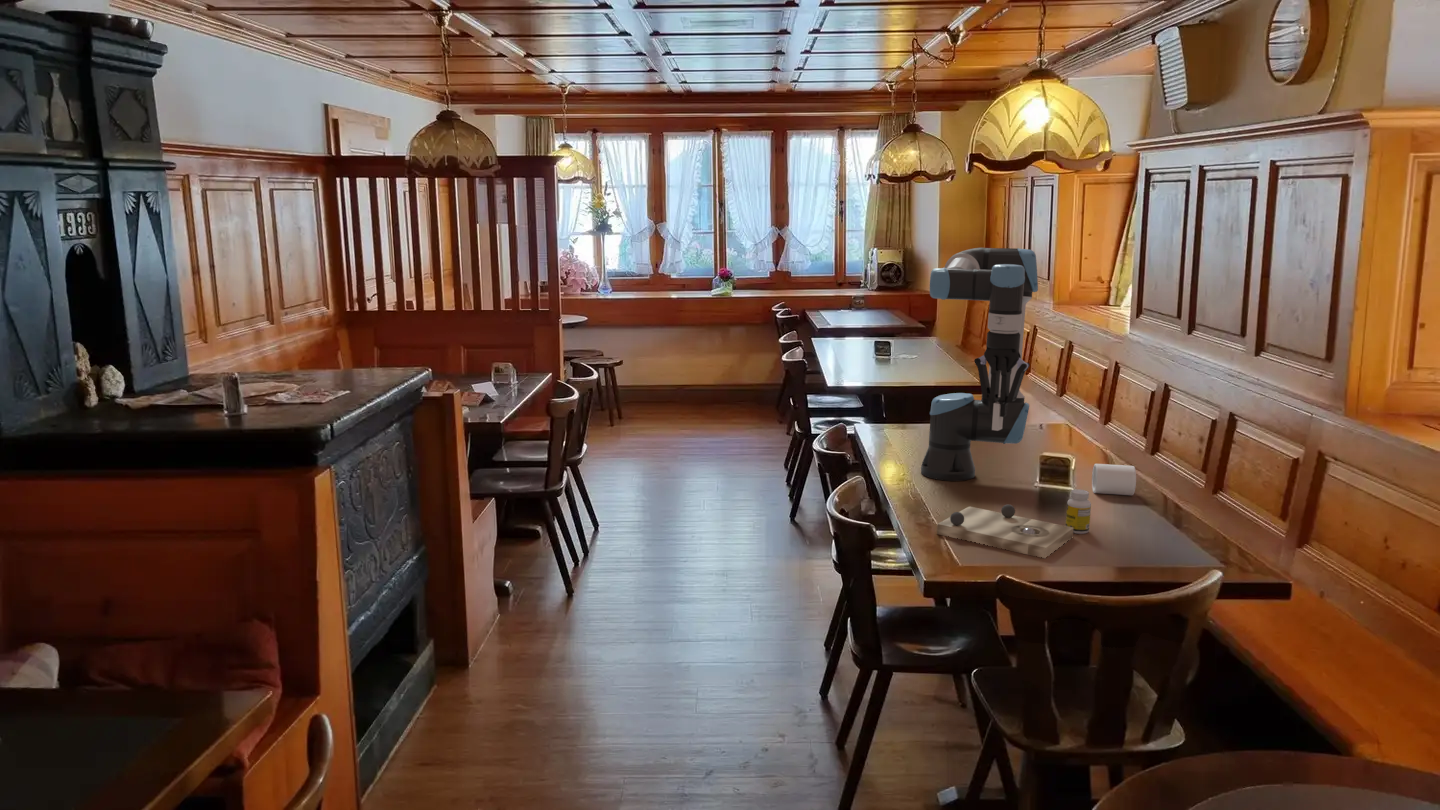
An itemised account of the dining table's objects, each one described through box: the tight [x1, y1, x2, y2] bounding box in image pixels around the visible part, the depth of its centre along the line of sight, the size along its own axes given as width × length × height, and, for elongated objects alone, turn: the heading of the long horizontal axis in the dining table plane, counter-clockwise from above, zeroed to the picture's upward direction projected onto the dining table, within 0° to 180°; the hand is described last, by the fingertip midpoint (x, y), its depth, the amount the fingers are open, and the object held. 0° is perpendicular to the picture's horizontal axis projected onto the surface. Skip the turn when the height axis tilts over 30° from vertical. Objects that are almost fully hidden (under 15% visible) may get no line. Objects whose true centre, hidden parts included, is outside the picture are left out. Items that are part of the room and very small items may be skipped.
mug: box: [1091, 463, 1137, 496], centre depth 275 cm, size 12×10×8 cm
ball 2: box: [1000, 504, 1016, 518], centre depth 243 cm, size 3×3×3 cm
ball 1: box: [949, 511, 964, 526], centre depth 237 cm, size 3×3×3 cm
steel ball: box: [1022, 528, 1036, 534], centre depth 234 cm, size 3×3×3 cm
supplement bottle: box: [1064, 488, 1092, 535], centre depth 242 cm, size 5×5×10 cm
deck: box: [936, 505, 1074, 559], centre depth 238 cm, size 26×18×2 cm
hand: (997, 429), depth 242 cm, fingers closed
